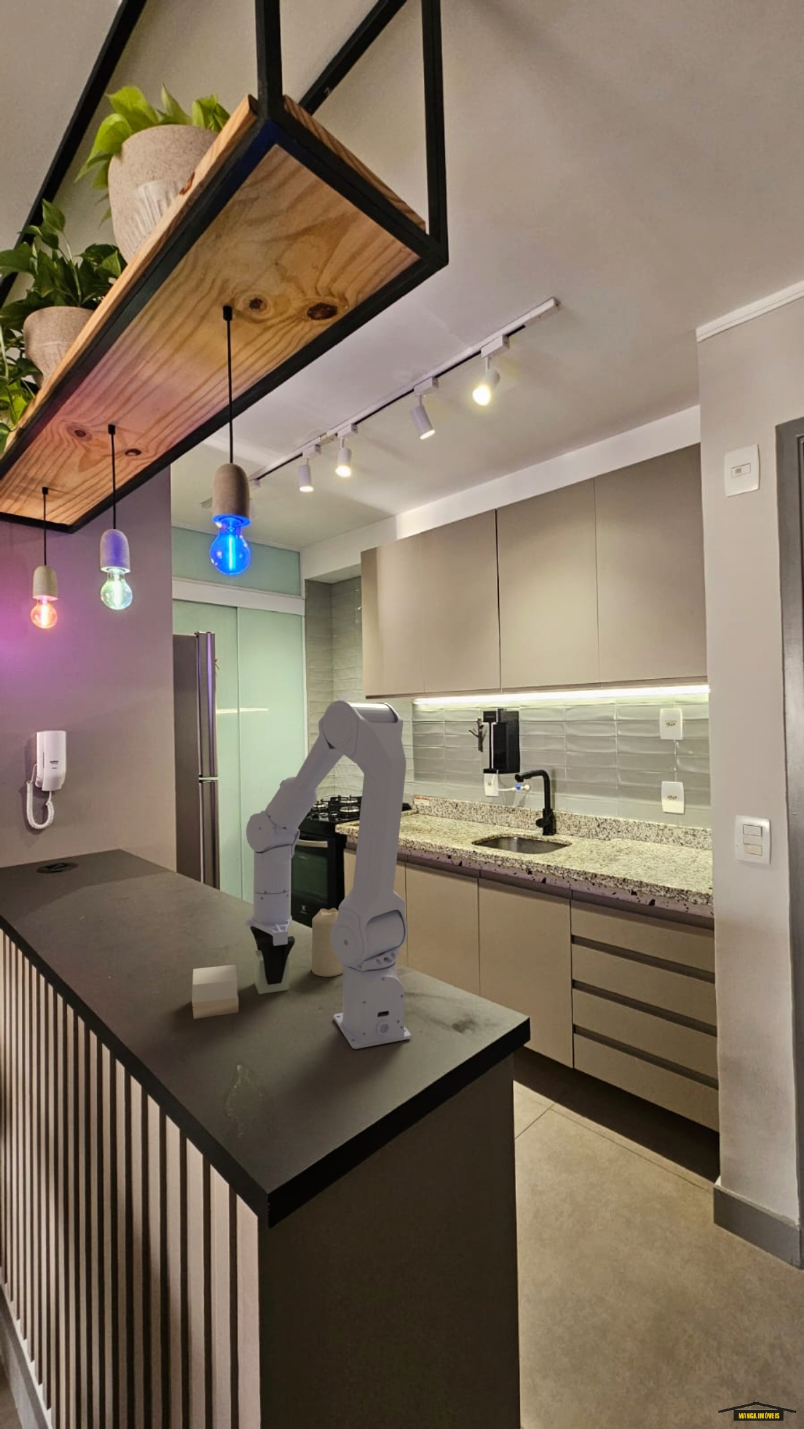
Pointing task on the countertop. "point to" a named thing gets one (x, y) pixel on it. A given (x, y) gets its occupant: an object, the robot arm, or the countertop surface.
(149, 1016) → the countertop surface
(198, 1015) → the tower base
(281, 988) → the sage block
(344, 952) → the robot arm
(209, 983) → the tower top
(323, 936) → the candle
